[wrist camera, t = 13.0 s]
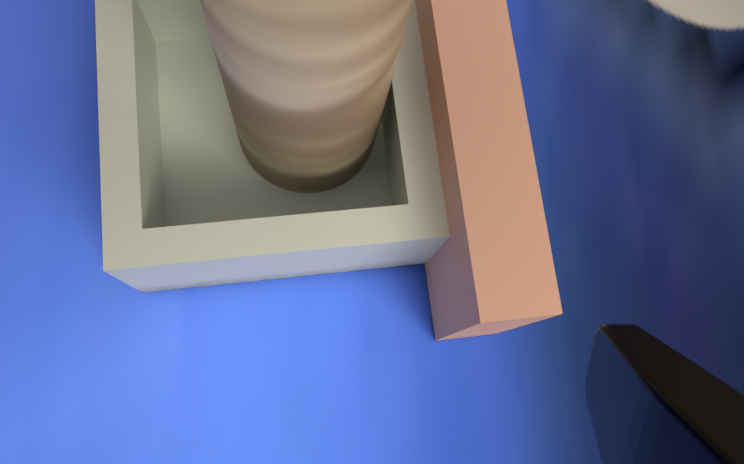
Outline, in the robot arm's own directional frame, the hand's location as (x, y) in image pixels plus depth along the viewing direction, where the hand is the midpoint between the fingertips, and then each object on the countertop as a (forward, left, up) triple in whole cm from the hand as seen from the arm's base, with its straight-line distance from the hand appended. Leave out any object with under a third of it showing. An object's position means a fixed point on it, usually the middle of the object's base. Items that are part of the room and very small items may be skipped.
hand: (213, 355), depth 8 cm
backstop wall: (+7, -6, -13) cm, 17 cm away
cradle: (+7, -1, -13) cm, 15 cm away
